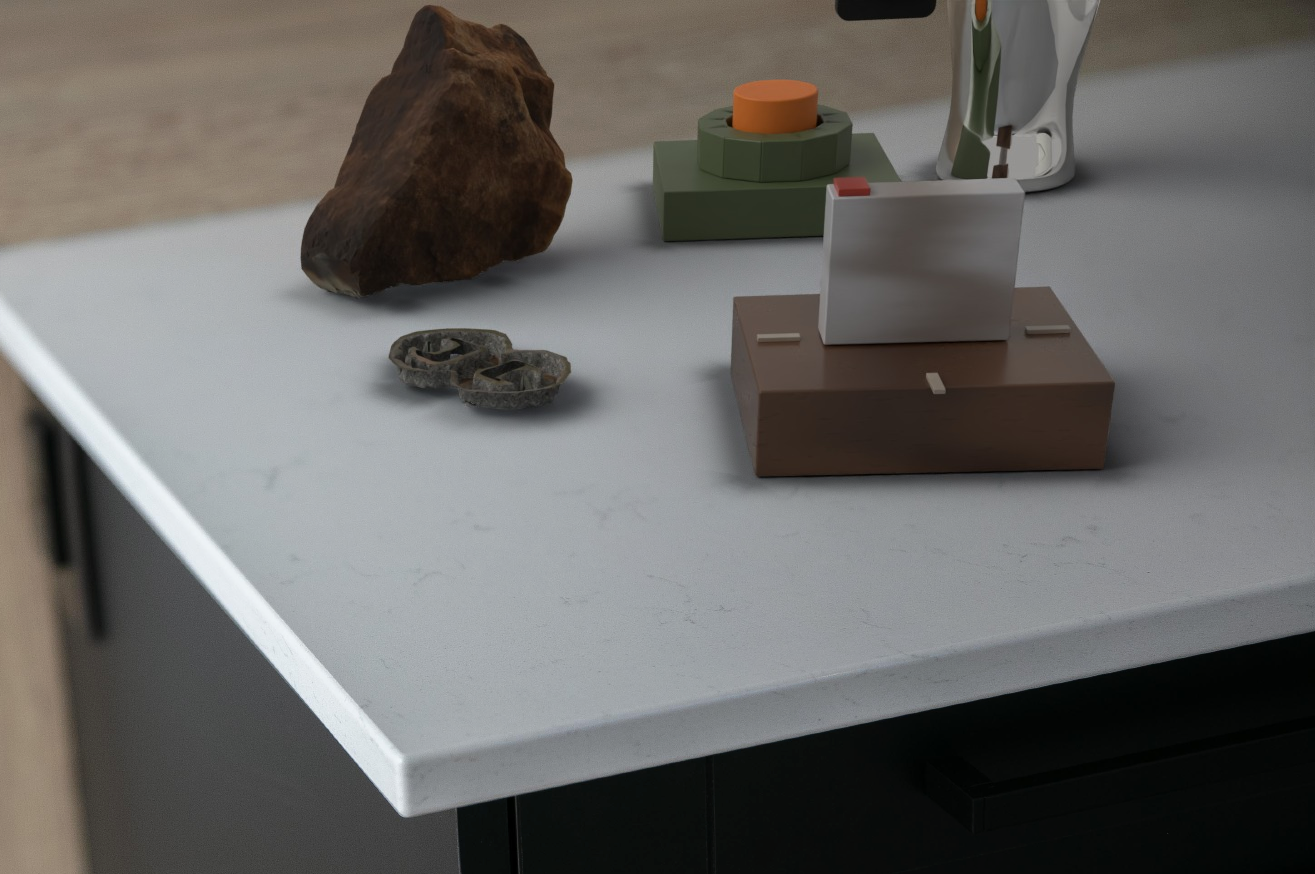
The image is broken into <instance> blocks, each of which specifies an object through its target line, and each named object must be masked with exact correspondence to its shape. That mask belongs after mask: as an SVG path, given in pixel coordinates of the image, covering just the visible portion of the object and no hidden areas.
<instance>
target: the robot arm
mask: <svg viewBox="0 0 1315 874" xmlns="http://www.w3.org/2000/svg"><path fill="white" fill-rule="evenodd" d="M936 7H937V0H834V10H835V13H836V14H837V16H838V17H839V18H840V19H841V20H843V21H845V22H858V21H859V22H860V21H882V20H883V21H884V20H902V19H903V20H905V19H906V20H907V19H924V18H927V17H929V16H931V15H932V14H933V13H934V12H935V10H936Z"/></svg>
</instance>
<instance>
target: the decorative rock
mask: <svg viewBox="0 0 1315 874" xmlns="http://www.w3.org/2000/svg"><path fill="white" fill-rule="evenodd" d="M554 93H555V82H554V81H553V79H552V77H550V76H549V75H548V73H547V71H546V70H545V68H544V67H543V66H542V64H541V62H540V60H539V58H538V57H537V56H536V54H535V52H534V50H533V49H532V47H531V46H530V44H529V43H528V42H527V40H526V38H524V37H523V36H522V35H521V34H519V33H518V32H517V31H516V30H515V29H513V28H512V27H510V26H509V25H507V24H504V23H497V24H495V25H493V26H491V27H487V26H485V25H483V24H481V23H477V22H474V21H470V20H465V19H461V18H460V17H458V16H456V15H455V14H454V13H453V12H451V11H450V10H448V9H447V8H445V7H443V6H441V5H435V4H426V5H424V6H422V7H421V8H420V9H419V10H418V11H416V13H415V14H414V16H413V18H412V21H411V23H410V26H409V29H408V31H407V33H406V36H405V38H404V42H403V46H402V49H401V51H400V52H399V54H398V56H396V58H395V61H394V62H393V65H392V69H391V72H390V74H388V75H385V76H383V77H381V78H380V79H379V80H378V81H377V82H376V84H375V85H374V86H373V87H372V89H371V90H370V91H369V93H368V95H367V98H366V99H365V102H364V105H363V107H362V109H361V113H360V116H359V117H358V118H359V119H358V121H357V123H356V125H355V130H354V133H353V135H352V137H351V142H350V144H349V147H348V148H347V152H346V155H345V156H344V158H343V161H342V163H341V165H340V168H339V170H338V173H337V176H336V180H335V182H334V185H333V188H331V189H330V190H328V191H327V193H326V194H325V195H324V196H323V197H322V198H321V200H319V201H318V203H317V204H316V206H315V207H314V209H313V211H312V212H311V214H310V215H309V218H308V219H307V222H306V224H305V226H304V229H303V233H302V239H301V245H300V258H299V259H300V268H301V270H302V271H303V273H304V275H305V276H306V277H307V278H308V279H309V280H310V281H311V282H312V284H314V285H315V286H316V287H318V288H319V289H321V290H324V291H326V292H333V293H335V294H344V295H348V296H350V297H352V298H354V297H356V298H357V299H362V298H363V297H368V296H372V295H375V294H376V293H379V294H381V295H382V294H384V293H385V292H386V290H388V289H391V288H396V287H401V286H423V285H429V284H432V283H435V284H436V283H453V282H459V281H466V280H467V281H469V280H472V279H475V278H477V277H479V276H480V275H481V274H482V273H483V272H487V271H488V270H489V269H490V268H493V267H495V266H497V265H501V264H503V263H504V262H518V261H520V260H522V259H524V258H528V257H531V256H535V255H538V254H542V253H544V252H545V251H546V250H547V249H548V248H549V247H550V246H551V244H552V242H553V240H554V237H555V235H556V234H557V232H558V231H559V229H560V227H561V224H562V222H563V220H564V217H565V213H566V208H567V205H568V202H569V199H570V197H571V195H572V189H573V188H572V187H573V175H572V172H571V171H570V170H569V169H567V166H566V159H565V158H566V157H565V153H564V151H563V150H562V148H561V146H560V145H559V144H558V142H557V140H556V138H555V137H554V135H553V133H552V131H551V129H550V128H551V122H552V117H553V104H554Z"/></svg>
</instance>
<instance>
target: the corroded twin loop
mask: <svg viewBox="0 0 1315 874" xmlns="http://www.w3.org/2000/svg"><path fill="white" fill-rule="evenodd" d="M451 355H458V356H456V357H454V358H451ZM388 360H390V361H391V363H393V364H394V366H396V368H397V373H398V377H399V380H400V382H401V383H402V384H404V385H406V386H407V385H408V386H414V387H418V388H420V389H443V388H444V389H446V388H447V389H448V388H452V389H453V388H455V389H457V390H458V396H459V399H460V401H461V404H462V405H465V406H467V407H471V408H487V409H493V410H520V409H521V410H522V409H526V408H537V407H540V406H543V405H545V404H551V403H552V402H554V400H555V398H556V395H558V394H559V391H560V388H561V385H562V384H563V383H564V382H565V381H566V379H568V377H569V376H570V374H572V369H571V368H572V364H571V362H570V361H569V360H568V357H566V356H565V355H562V354H559V353H556V352H553V351H550V350H547V349H514V348H513V342H512V340H511V339H510V338H509V336H508V335H507V333H505V332H501V331H498V330H496V329H488V328H487V329H486V328H472V327H471V328H469V327H467V328H466V327H463V328H462V327H455V328H453V327H451V328H435V329H427V330H426V329H425V330H424V329H423V330H417V331H413V332H410V333H407V334H403V335H402V336H400V337H398V338H397V339H396V340H394V342H393V343H392V344H391V346H390V350H389V353H388Z"/></svg>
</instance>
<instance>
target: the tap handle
mask: <svg viewBox="0 0 1315 874" xmlns="http://www.w3.org/2000/svg"><path fill="white" fill-rule="evenodd" d="M1025 197H1026V192H1024V190H1023V189H1022V187H1021V186H1020V185H1019V183H1018V182H1017V180H1016V179H1015V178H997V179H968V180H942V179H940V180H916V181H915V180H914V181H901V182H882V183H868V182H867V180H866V178H865V177H847V178H834V184H828V185H827V189H826V206H825V222H824V236H823V241H822V242H823V243H822V258H821V272H820V273H821V275H820V291H819V294H820V306H819V322H818V328H819V331H820V334H821V337H822V340H823V343H824V345H838V344H876V343H915V342H954V341H993V340H1008V339H1009V334H1010V325H1011V316H1012V307H1013V298H1014V289H1015V288H1016V287H1015V286H1016V279H1017V272H1018V271H1017V269H1018V261H1019V253H1020V252H1019V251H1020V243H1021V235H1022V234H1021V233H1022V225H1023V215H1024V206H1025V199H1026V198H1025Z"/></svg>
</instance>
